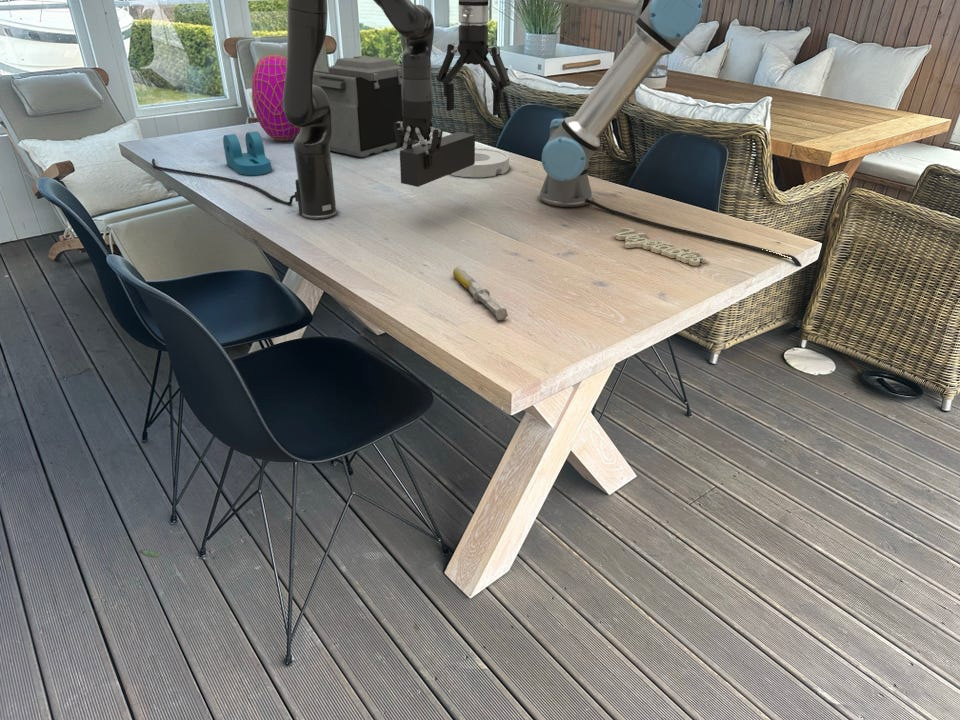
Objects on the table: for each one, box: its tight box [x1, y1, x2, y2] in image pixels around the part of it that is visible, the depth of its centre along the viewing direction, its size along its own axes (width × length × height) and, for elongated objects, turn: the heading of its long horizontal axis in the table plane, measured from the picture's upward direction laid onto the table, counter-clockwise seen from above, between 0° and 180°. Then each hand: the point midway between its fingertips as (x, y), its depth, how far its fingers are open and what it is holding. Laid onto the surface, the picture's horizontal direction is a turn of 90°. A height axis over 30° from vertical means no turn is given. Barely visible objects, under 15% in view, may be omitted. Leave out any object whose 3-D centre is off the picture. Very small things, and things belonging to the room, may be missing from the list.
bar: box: [399, 131, 476, 188], centre depth 182 cm, size 27×6×8 cm, turn 148°
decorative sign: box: [615, 227, 707, 267], centre depth 169 cm, size 26×1×10 cm
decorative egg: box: [251, 54, 301, 142], centre depth 257 cm, size 19×19×30 cm
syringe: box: [452, 266, 509, 321], centre depth 145 cm, size 25×4×3 cm, turn 21°
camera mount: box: [222, 131, 272, 176], centre depth 226 cm, size 18×10×10 cm, turn 35°
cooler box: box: [313, 55, 419, 159], centre depth 250 cm, size 37×22×30 cm, turn 144°
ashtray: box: [450, 147, 510, 178], centre depth 231 cm, size 23×23×4 cm
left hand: (418, 166), depth 176 cm, fingers closed on bar, 5 cm apart
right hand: (472, 112), depth 183 cm, fingers open, 13 cm apart
